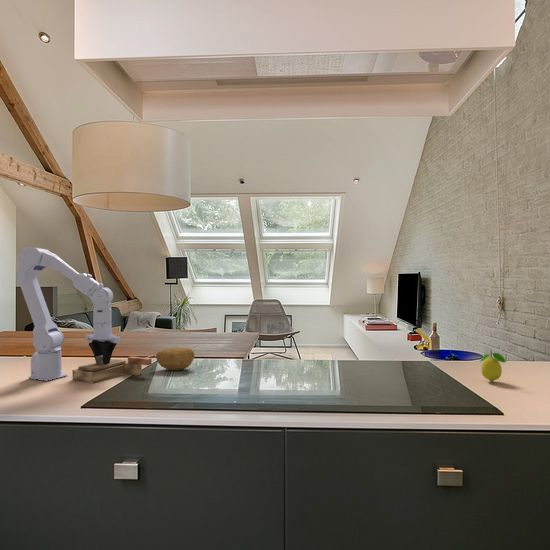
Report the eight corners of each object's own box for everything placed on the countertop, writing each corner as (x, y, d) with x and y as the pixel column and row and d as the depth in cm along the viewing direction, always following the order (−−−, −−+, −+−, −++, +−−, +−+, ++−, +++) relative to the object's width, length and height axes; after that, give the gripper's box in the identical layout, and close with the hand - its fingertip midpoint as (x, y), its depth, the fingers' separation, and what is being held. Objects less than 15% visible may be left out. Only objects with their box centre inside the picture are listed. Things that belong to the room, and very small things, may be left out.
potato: (163, 366, 154) (162, 345, 154) (198, 367, 152) (198, 345, 152) (150, 372, 144) (150, 349, 144) (188, 373, 142) (188, 350, 142)
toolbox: (72, 379, 135) (72, 368, 135) (111, 369, 149) (111, 359, 149) (106, 384, 128) (106, 372, 128) (143, 373, 143) (143, 362, 143)
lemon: (506, 385, 122) (506, 351, 122) (485, 384, 124) (484, 351, 124) (499, 379, 129) (498, 347, 129) (478, 378, 130) (478, 347, 130)
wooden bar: (127, 363, 142) (127, 357, 142) (131, 362, 144) (131, 356, 144) (147, 365, 138) (147, 359, 138) (151, 364, 140) (151, 358, 140)
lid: (78, 369, 136) (78, 358, 136) (110, 361, 148) (110, 351, 148) (94, 371, 132) (94, 360, 132) (125, 363, 145) (125, 353, 145)
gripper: (127, 322, 141) (127, 362, 141) (97, 320, 147) (97, 358, 147) (110, 324, 134) (111, 366, 134) (80, 323, 141) (80, 362, 140)
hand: (102, 362), depth 140 cm, fingers closed on lid, 3 cm apart
